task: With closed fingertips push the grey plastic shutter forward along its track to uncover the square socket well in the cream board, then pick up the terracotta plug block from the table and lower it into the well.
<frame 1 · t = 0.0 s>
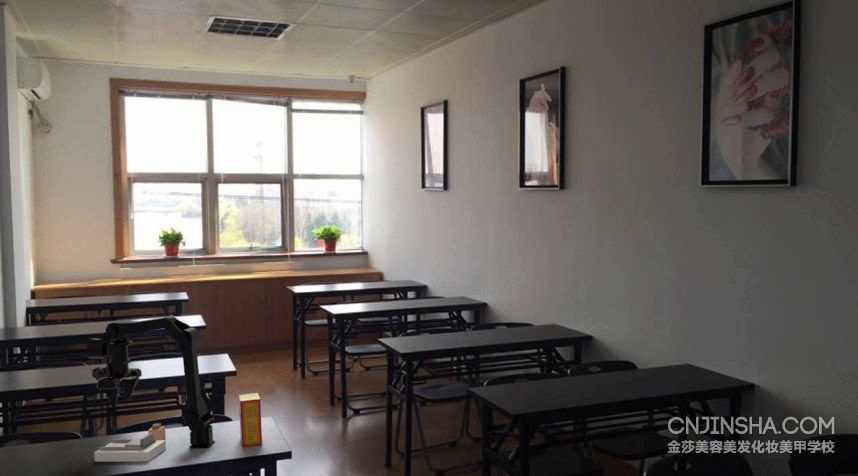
hand: (121, 403, 242), 15 cm above the table, fingers open, 9 cm apart
board: (131, 455, 232), on the table
plug: (157, 445, 241), on the table
baking soda box: (251, 442, 241), on the table
shutter: (139, 440, 231), point 5 cm above the table, slide at 0.0 cm
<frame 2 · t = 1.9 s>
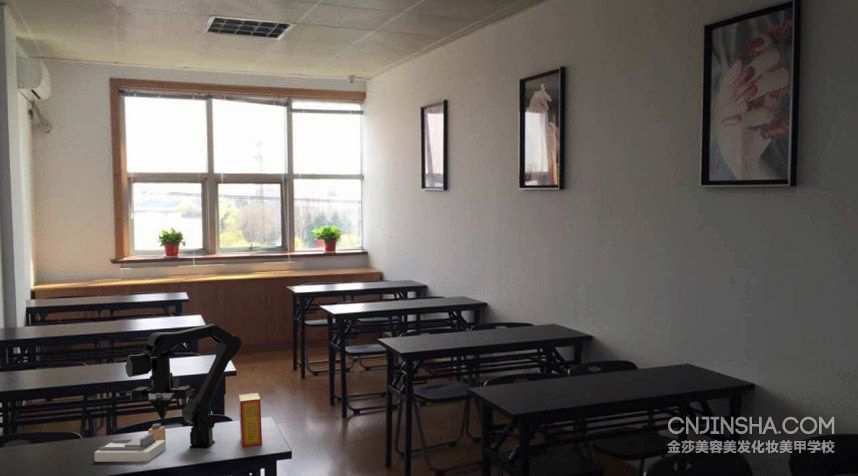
hand: (163, 419, 230), 12 cm above the table, fingers closed
nothing on the table moved.
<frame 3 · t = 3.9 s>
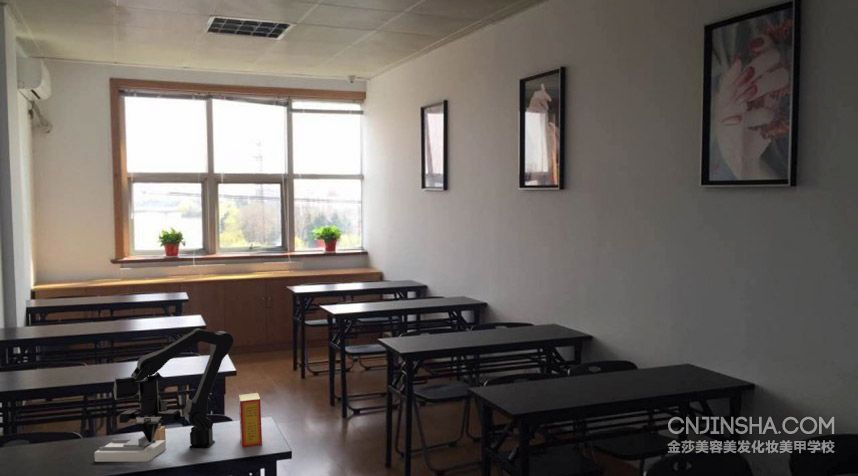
hand: (150, 442, 231), 4 cm above the table, fingers closed
shutter: (137, 440, 231), point 5 cm above the table, slide at 0.6 cm, touching gripper
everything else where it was.
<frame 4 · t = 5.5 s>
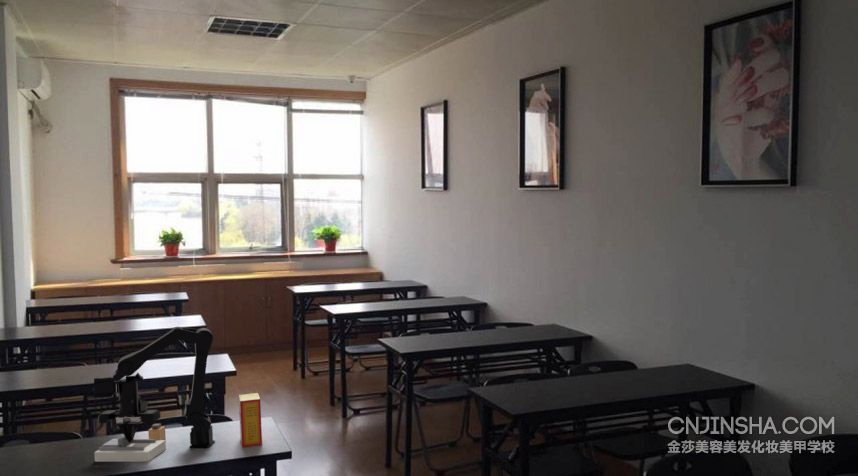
hand: (130, 442, 231), 4 cm above the table, fingers closed
shutter: (117, 440, 232), point 5 cm above the table, slide at 7.6 cm, touching gripper
everything else where it was.
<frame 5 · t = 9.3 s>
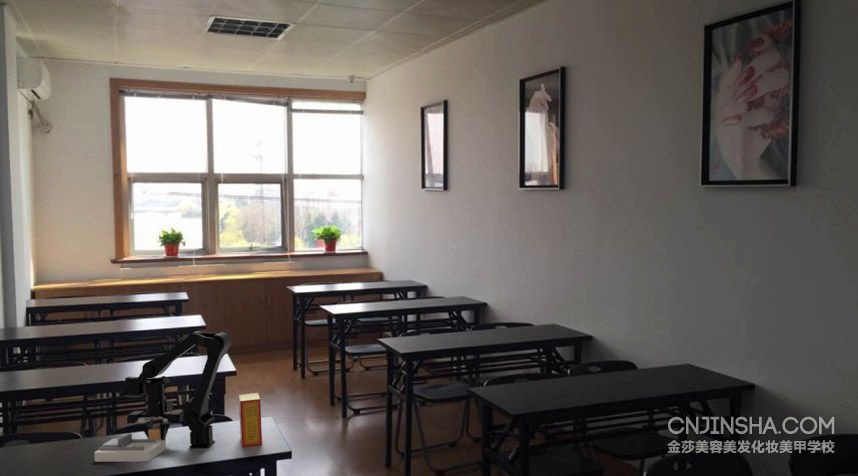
hand: (157, 441, 241), 1 cm above the table, fingers closed on plug, 4 cm apart
plug: (157, 445, 241), on the table, touching gripper
shutter: (117, 440, 232), point 5 cm above the table, slide at 7.6 cm
everything else where it was.
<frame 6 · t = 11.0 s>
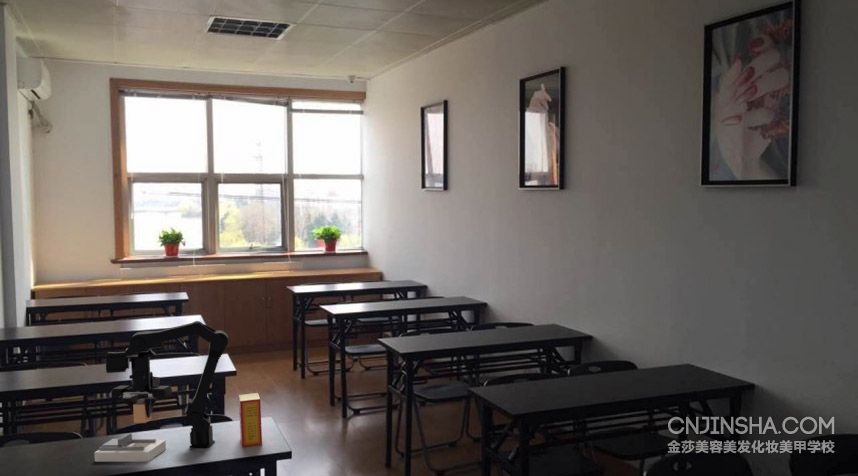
hand: (142, 417, 234), 12 cm above the table, fingers closed on plug, 4 cm apart
plug: (142, 421, 234), point 10 cm above the table, touching gripper
everything else where it was.
when the fingers open (3 cm above the table, at t = 13.0 s): plug drops 2 cm, resting in board.
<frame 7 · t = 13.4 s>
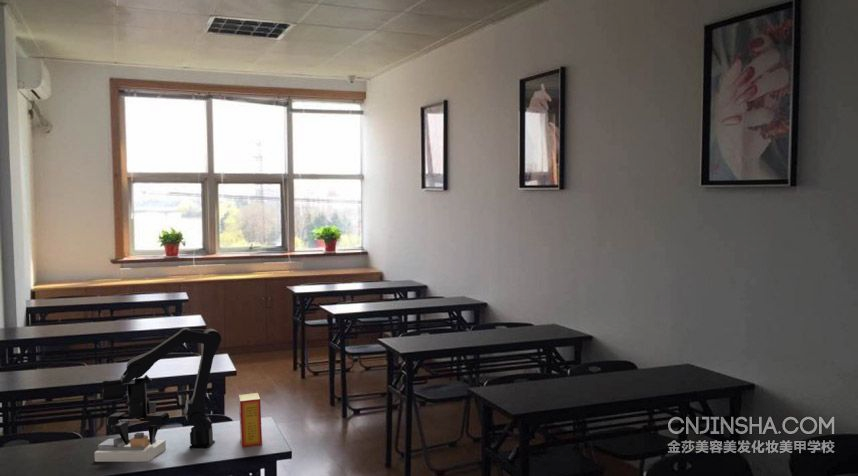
hand: (139, 444, 231), 4 cm above the table, fingers open, 8 cm apart
plug: (140, 455, 231), resting in board
shutter: (113, 440, 232), point 5 cm above the table, slide at 9.0 cm, touching gripper
everything else where it was.
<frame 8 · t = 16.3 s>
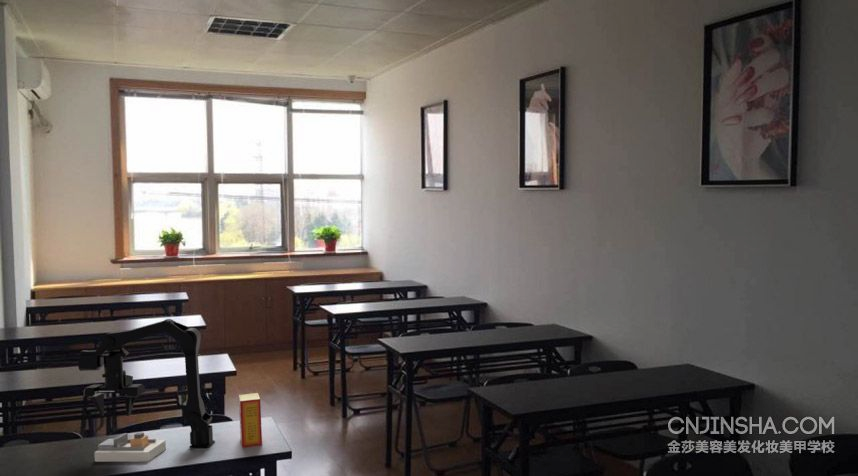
hand: (115, 415, 236), 12 cm above the table, fingers open, 9 cm apart
shutter: (113, 440, 232), point 5 cm above the table, slide at 9.0 cm
everything else where it was.
at the end: shutter slide at 9.0 cm; plug 0.0 cm from the target spot on the board, point 0.0 cm above the board's base; plug tilted 0° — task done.
